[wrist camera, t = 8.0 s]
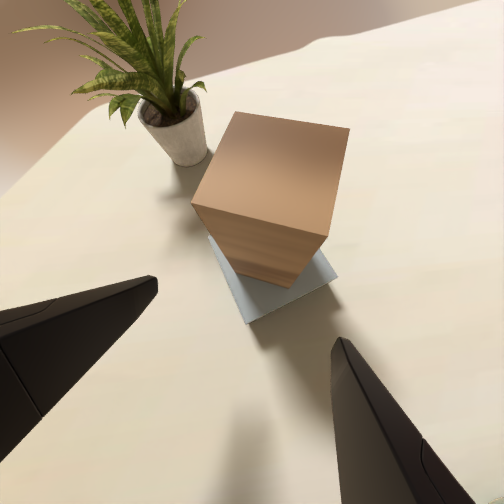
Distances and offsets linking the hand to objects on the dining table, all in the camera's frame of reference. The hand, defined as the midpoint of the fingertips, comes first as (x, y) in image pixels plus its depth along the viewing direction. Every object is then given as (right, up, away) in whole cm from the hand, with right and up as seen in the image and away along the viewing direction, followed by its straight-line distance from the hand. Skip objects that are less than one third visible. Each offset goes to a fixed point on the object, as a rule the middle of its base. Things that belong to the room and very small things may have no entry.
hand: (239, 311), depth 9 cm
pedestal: (+2, +1, +12) cm, 12 cm away
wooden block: (+2, +3, +9) cm, 9 cm away
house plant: (-9, +18, +19) cm, 27 cm away
